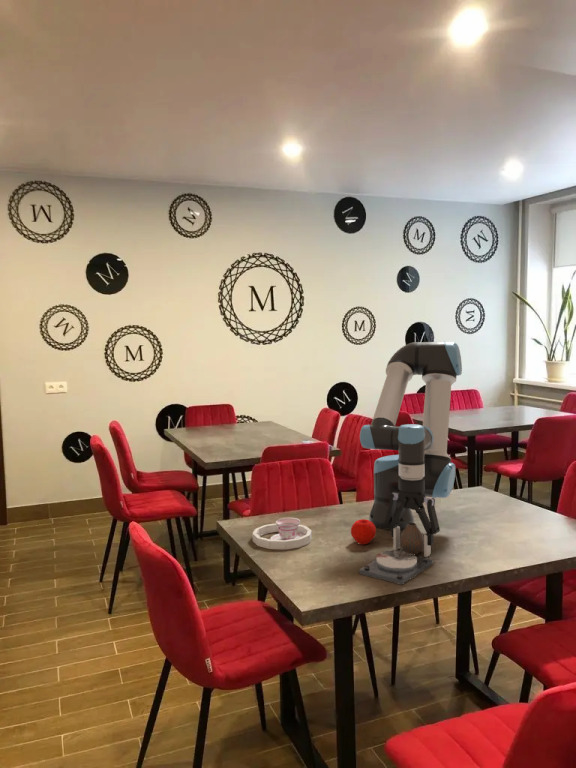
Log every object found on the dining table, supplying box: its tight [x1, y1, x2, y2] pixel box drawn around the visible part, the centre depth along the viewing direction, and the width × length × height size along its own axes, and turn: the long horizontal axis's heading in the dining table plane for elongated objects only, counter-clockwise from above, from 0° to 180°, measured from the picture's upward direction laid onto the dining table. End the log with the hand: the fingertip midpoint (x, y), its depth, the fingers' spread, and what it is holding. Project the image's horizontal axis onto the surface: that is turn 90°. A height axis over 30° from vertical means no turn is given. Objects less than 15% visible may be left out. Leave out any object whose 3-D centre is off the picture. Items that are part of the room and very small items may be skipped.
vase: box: [400, 522, 424, 555], centre depth 182 cm, size 7×7×9 cm
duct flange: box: [358, 549, 434, 585], centre depth 169 cm, size 13×18×3 cm
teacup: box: [269, 517, 304, 540], centre depth 195 cm, size 12×12×6 cm
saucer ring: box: [251, 523, 313, 550], centre depth 196 cm, size 18×18×2 cm
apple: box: [350, 518, 377, 546], centre depth 191 cm, size 8×8×7 cm
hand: (411, 552), depth 182 cm, fingers open, 9 cm apart
